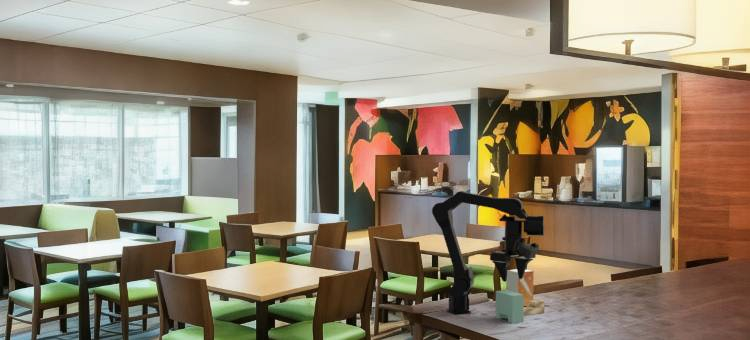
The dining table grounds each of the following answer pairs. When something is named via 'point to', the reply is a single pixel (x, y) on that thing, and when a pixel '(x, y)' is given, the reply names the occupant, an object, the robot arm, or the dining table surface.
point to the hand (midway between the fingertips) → (512, 280)
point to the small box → (521, 284)
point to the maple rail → (534, 307)
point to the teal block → (509, 306)
